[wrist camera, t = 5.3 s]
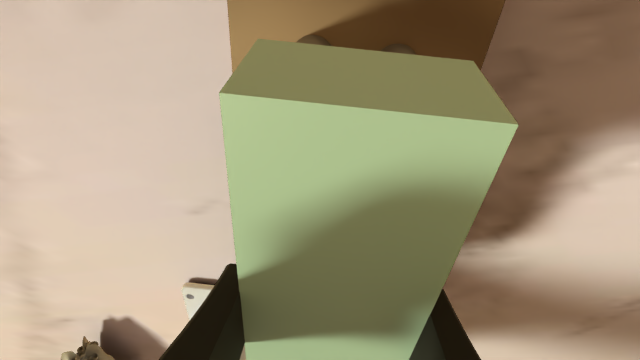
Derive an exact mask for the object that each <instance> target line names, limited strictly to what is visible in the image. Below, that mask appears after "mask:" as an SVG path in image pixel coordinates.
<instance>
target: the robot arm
mask: <svg viewBox="0 0 640 360" xmlns="http://www.w3.org/2000/svg"><path fill="white" fill-rule="evenodd" d="M182 294H183V298H184V302H185V306H186V309H187V313H188V317H189V322H188V324H187V325H186V326H185V328H184V329H183V330H182V332H181V333H180V334H179V335H178V337H177V338H176V339H175V340H174V341H173V343H172V344H171V345H170V346H169V348H168V349H167V350H166V351H165V352H164V354H163V355H162V356H161V357H160V359H159V360H246V354H245V338H244V328H243V318H242V307H241V297H240V292H239V284H238V274H237V264H229V265H227V266H226V268H225V270H224V271H223V273H222V275H221V276H220V278H219V279H218V281H217V283H216V284H215V285H207V284H199V283H185V284H184V285H183V287H182ZM409 360H481V359H480V357H479V355H478V354H477V352H476V350H475V349H474V347H473V345H472V343H471V342H470V340H469V338H468V336H467V334H466V332H465V331H464V329H463V327H462V325H461V323H460V321H459V319H458V317H457V315H456V313H455V312H454V310H453V308H452V306H451V304H450V302H449V300H448V298H447V296H446V293H445V291H444V290H443V289H442V290H441V293H440V295H439V297H438V299H437V301H436V303H435V305H434V308H433V310H432V312H431V314H430V315H429V317H428V319H427V322H426V324H425V326H424V328H423V330H422V332H421V334H420V337H419V339H418V341H417V343H416V345H415V347H414V350H413V352H412V354H411V356H410V358H409Z"/></svg>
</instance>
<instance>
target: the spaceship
mask: <svg viewBox="0 0 640 360" xmlns="http://www.w3.org/2000/svg"><path fill="white" fill-rule="evenodd" d="M77 352H78V353H77V354H75V353H74V352H71V351H70V352H65V353H63V354H62V356H61V360H115V359H114V358H113V357H112V356H111V355H107V354H106V353H105V352H104V351H103V349H102V348H101V347H99V346H98V342H96V341H93V342H90V341H89V342H88V340H87V339H86V337H85V336H84V337H83V346H81V347H79V348H78V349H77Z"/></svg>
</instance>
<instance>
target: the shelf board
mask: <svg viewBox="0 0 640 360" xmlns="http://www.w3.org/2000/svg"><path fill="white" fill-rule="evenodd" d="M219 96H220V106H221V116H222V126H223V136H224V146H225V156H226V165H227V175H228V185H229V195H230V205H231V215H232V225H233V235H234V245H235V255H236V264H237V274H238V284H239V292H240V297H241V307H242V318H243V328H244V338H245V354H246V360H409V358H410V356H411V354H412V352H413V350H414V347H415V345H416V343H417V341H418V339H419V337H420V334H421V332H422V330H423V328H424V326H425V324H426V322H427V319H428V317H429V315H430V314H431V312H432V310H433V308H434V305H435V303H436V301H437V299H438V297H439V295H440V293H441V290H442V288H443V286H444V284H445V282H446V280H447V278H448V275H449V273H450V271H451V269H452V267H453V265H454V262H455V260H456V258H457V256H458V254H459V252H460V250H461V247H462V245H463V243H464V241H465V239H466V237H467V235H468V232H469V230H470V228H471V226H472V224H473V222H474V219H475V217H476V215H477V213H478V211H479V209H480V207H481V204H482V202H483V200H484V198H485V196H486V194H487V192H488V189H489V187H490V185H491V183H492V181H493V179H494V177H495V174H496V172H497V170H498V168H499V166H500V164H501V161H502V159H503V157H504V155H505V153H506V151H507V149H508V146H509V144H510V142H511V140H512V138H513V136H514V134H515V131H516V129H517V127H518V125H519V124H518V123H517V122H516V120H515V119H514V117H513V116H512V115H511V113H510V112H509V110H508V109H507V108H506V106H505V105H504V103H503V102H502V101H501V99H500V98H499V96H498V95H497V94H496V92H495V91H494V89H493V88H492V86H491V85H490V84H489V82H488V81H487V79H486V78H485V77H484V75H483V74H482V72H481V71H480V70H479V68H478V67H477V65H476V64H475V63H474V61H470V60H460V59H450V58H441V57H431V56H421V55H412V54H402V53H392V52H383V51H373V50H363V49H354V48H344V47H334V46H325V45H315V44H305V43H296V42H286V41H276V40H267V39H257V40H256V42H255V43H254V45H253V46H252V47H251V49H250V50H249V52H248V53H247V54H246V56H245V57H244V59H243V60H242V61H241V63H240V64H239V66H238V67H237V69H236V70H235V71H234V73H233V74H232V76H231V77H230V78H229V80H228V81H227V83H226V84H225V85H224V87H223V88H222V90H221V91H220V92H219Z"/></svg>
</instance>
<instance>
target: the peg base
mask: <svg viewBox="0 0 640 360" xmlns="http://www.w3.org/2000/svg"><path fill="white" fill-rule="evenodd" d="M504 3H505V0H227V4H228V17H229V31H230V45H231V58H232V72H233V73H234V71H235V70H236V69H237V67H238V66H239V64H240V63H241V61H242V60H243V59H244V57H245V56H246V54H247V53H248V52H249V50H250V49H251V47H252V46H253V45H254V43H255V42H256V40H257V39H267V40H276V41H286V42H296V43H305V44H315V45H325V46H334V47H344V48H354V49H363V50H373V51H383V52H392V53H402V54H412V55H421V56H431V57H441V58H450V59H460V60H470V61H474V63H475V64H476V65H477V67H478V68H479V70H481V68H482V65H483V62H484V59H485V56H486V53H487V51H488V48H489V45H490V42H491V39H492V37H493V34H494V31H495V28H496V25H497V22H498V20H499V17H500V14H501V11H502V8H503V6H504Z"/></svg>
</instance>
